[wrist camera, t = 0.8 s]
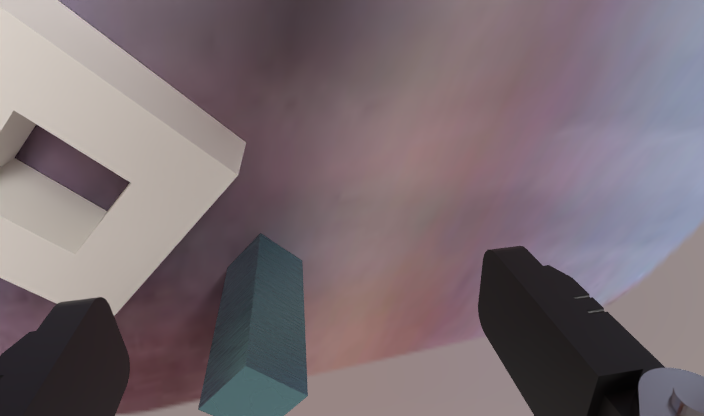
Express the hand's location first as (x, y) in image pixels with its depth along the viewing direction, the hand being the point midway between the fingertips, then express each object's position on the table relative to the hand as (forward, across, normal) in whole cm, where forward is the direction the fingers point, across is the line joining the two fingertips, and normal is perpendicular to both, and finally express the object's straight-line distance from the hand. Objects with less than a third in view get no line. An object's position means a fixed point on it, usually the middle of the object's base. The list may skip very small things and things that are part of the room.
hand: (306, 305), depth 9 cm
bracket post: (+21, +3, +12) cm, 24 cm away
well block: (+20, +13, +2) cm, 24 cm away
